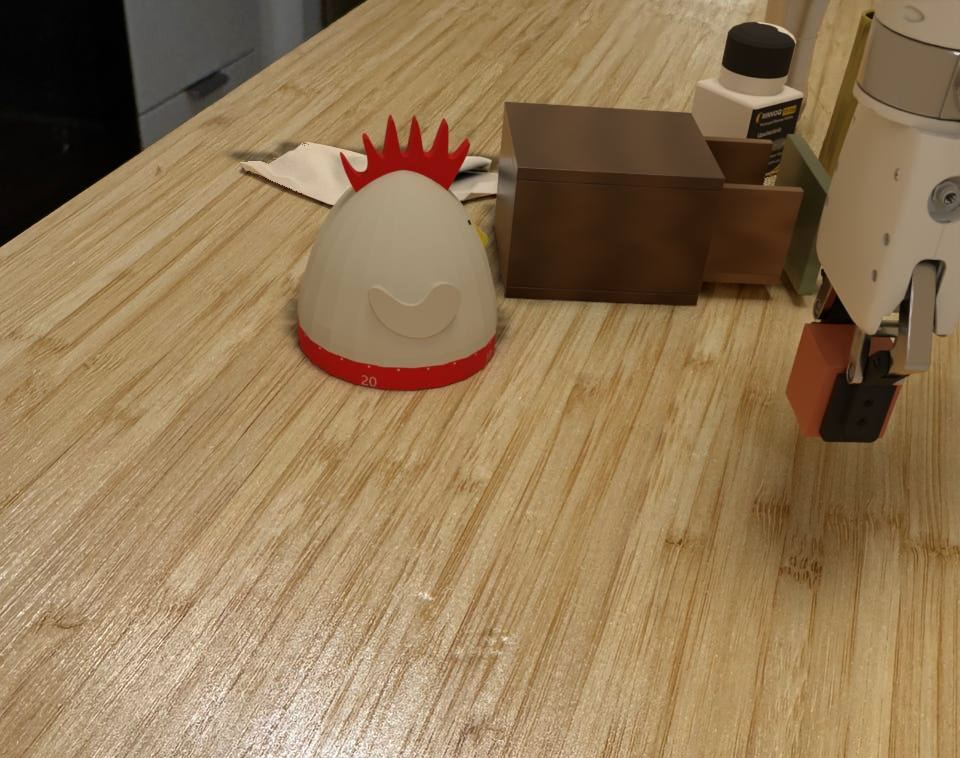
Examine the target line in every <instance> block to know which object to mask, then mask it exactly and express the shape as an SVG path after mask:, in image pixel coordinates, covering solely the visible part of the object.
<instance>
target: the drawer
mask: <svg viewBox="0 0 960 758" xmlns="http://www.w3.org/2000/svg"><path fill="white" fill-rule="evenodd" d="M703 137H704V139H705V141H706V143H707V144H708V146H709V148H710V150H711V152H712V154H713V156H714V158H715V160H716V162H717V164H718V166H719V168H720V170H721V171H722V173H723V175H724V177H725V182H724V186H723V190H722V194H721V199H720V203H719V208H718V212H717V217H716V221H715V225H714V230H713V234H712V239H711V243H710V248H709V252H708V257H707V261H706V265H705V270H704V274H703V279H702V283H703V282H704V283H724V284H727V283H729V284H747V285H748V284H749V285H770V286H779V285H780V282H781V281H780V280H781V277H782V274H783V270H784V271H785V273H786V276H787V277H788V279H789V281H790V284H791V285H792V286H793V288H794V291H795V292H796V294H797V295H798V296H813V294H814V291H815V288H816V284H817V281H818V278H819V274H820V272H821V269H822V265H821V263H820V261H819V258H818V255H817V248H816V243H817V236H818V230H819V225H820V221H821V217H822V213H823V209H824V205H825V201H826V198H827V194H828V191H829V188H830V184H831V181H832V179H831V178H830V176H829V175H828V173H827V172H826V170H825V169H824V167H823V166H822V164H821V163H820V162H819V160H818V157H817V156H816V154H815V153H814V151H813V150H812V149H811V147H810V145H809V143H808V142H807V141H806V139H805V137H803V135H802V134H795V133H794V134H787V137H786V141H785V145H784V149H783V153H782V157H781V160H780V164H779V168H778V172H777V173H776V177H775V181H774V184H773V185H764V183H765V180H766V172H767V168H768V164H769V159H770V155H771V151H772V147H773V142H772V141H771V140H764V139H747V138H729V137H712V136H703Z"/></svg>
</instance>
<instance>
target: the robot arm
mask: <svg viewBox="0 0 960 758" xmlns="http://www.w3.org/2000/svg"><path fill="white" fill-rule="evenodd" d="M874 9H875V13H874V16H873V20H872V24H871V27H870V31H869V34H868V38H867V42H866V45H865V49H864V53H863V56H862V60H861V63H860V67H859V71H858V74H857V78H856V81H855V84H854V88H853V95H854V97H855V98H856V99H857V101H858V105H857V107H856V110H855V113H854V116H853V118H852V121H851V124H850V127H849V129H848V132H847V135H846V138H845V141H844V144H843V147H842V150H841V153H840V156H839V159H838V162H837V165H836V168H835V171H834V174H833V178H832V181H831V184H830V188H829V191H828V194H827V198H826V201H825V205H824V209H823V213H822V217H821V221H820V225H819V230H818V236H817V243H816V248H817V255H818V258H819V261H820V263H821V268H820V276H821V280H822V281H821V285H820V287H819V290H818V292H817V295H816V297H815V299H814V302H813V306H812V317H813V319H814V320H815V321H811V322H810V323H814V324H851V325H856V327H855V332H854V337H853V341H852V346H851V351H850V355H849V360H848V365H847V370H846V373H838V374H837V377H836V380H835V384H834V387H833V390H832V393H831V396H830V399H829V402H828V405H827V409H826V412H825V415H824V418H823V421H822V424H821V427H820V430H819V434H820V436H821V437H820V438H821V440H822V441H823V442H824V443H847V444H849V443H853V444H854V443H856V444H859V443H860V444H872V443H875V442H876V441H877V440H878V439H879V438H878V437H879V435H880V432H881V429H882V427H883V424H884V421H885V418H886V416H887V413H888V410H889V407H890V405H891V402H892V399H893V396H894V394H895V391H896V388H897V386H898V385H902V386H903V384H904V382H905V380H906V378H907V377H909V376H911V375H915V374H920V373H926V372H927V371H928V370H929V368H930V366H931V361H932V348H933V334H934V335H935V336H937V337H938V338H948V337H950V336H951V335H952V334H953V333H954V332H955V330H956V329H957V327H958V325H959V322H960V0H877V2H876V5H875V8H874ZM892 314H898V319H897V320H895V319H894V320H892V319H891V320H890V319H883V318H884V317H891V316H892ZM873 337H887V338H891V339H892V338H894V340H893V343H894V344H893V348H891V349H890V350H879V351H877V352H875V353H874V354H872V355H870V356H869V352H870V348H871V343H872V339H873Z"/></svg>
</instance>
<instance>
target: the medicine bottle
mask: <svg viewBox="0 0 960 758" xmlns="http://www.w3.org/2000/svg"><path fill="white" fill-rule="evenodd" d="M795 45H796V40H795V38H794V36H793V35H792V34H791V33H790V32H788V31H787V30H786V29H784V28H782V27H780V26H777V25H773V24H769V23H764V22H762V21H747V22H746V21H745V22H742V23H738V24H735V25H733V26H732V27H731V28H730V29H729V30H728V31H727V35H726V40H725V44H724V50H723V54H722V60H721V64H720V69H719V74H720V75H719V76H714V77H710V78H705V79H701V80H698V81H697V82H696V85H695V90H694V94H693V95H694V96H693V99H692V105H691V110H690V113H691V114H692V116H693V117H694V119H695V121H696V123H697V125H698V127H699V129H700V131H701V133H702V135H703V136H712V137H729V138H747V139H764V140H771V141H772V142H773V147H772V151H771V155H770V159H769V164H768V168H767V172H766V176H771V175H773V174H777V172H778V168H779V164H780V160H781V157H782V153H783V149H784V145H785V141H786V137H787V134H795V131H796V127H797V123H798V122H797V120H798V116H799V112H800V108H801V104H802V100H803V93H802V92H800V91H798V90H795V89H793V88H790V87H788V86H785V85H784V84H785V83H786V82H787V78H788V73H789V69H790V65H791V61H792V57H793V53H794V49H795ZM766 176H765V177H766Z"/></svg>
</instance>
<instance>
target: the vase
mask: <svg viewBox="0 0 960 758" xmlns="http://www.w3.org/2000/svg"><path fill="white" fill-rule="evenodd" d="M874 13H875V8H871V9H866V10H864V11H863V12H862V13H861V16H860V18H859V23H858V27H857V29H856V30H857V31H856V34H855V37H854V41H853V44H852V48H851V52H850V55H849V58H848V60H847V64H846V68H845V71H844V75H843V78H842V81H841V84H840V88H839V90H838V94H837V97H836V101H835V104H834V107H833V110H832V114H831V117H830V120H829V124H828V127H827V130H826V133H825V136H824V139H823V142H822V145H821V149H820V152H819V155H818V157H817V159H818V160H819V162H820V163H821V164H822V166H823V167H824V169H825V170H826V172H827V173H828V175H829V176H830V178H831V179H832V178H833V174H834V171H835V168H836V165H837V162H838V159H839V156H840V153H841V150H842V147H843V144H844V141H845V138H846V135H847V132H848V129H849V127H850V124H851V121H852V118H853V116H854V113H855V110H856V107H857V105H858V101H857V99H856V98H855V97H854V95H853V88H854V84H855V81H856V78H857V74H858V71H859V67H860V63H861V60H862V56H863V53H864V49H865V45H866V42H867V38H868V34H869V31H870V27H871V24H872V20H873V16H874Z"/></svg>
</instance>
